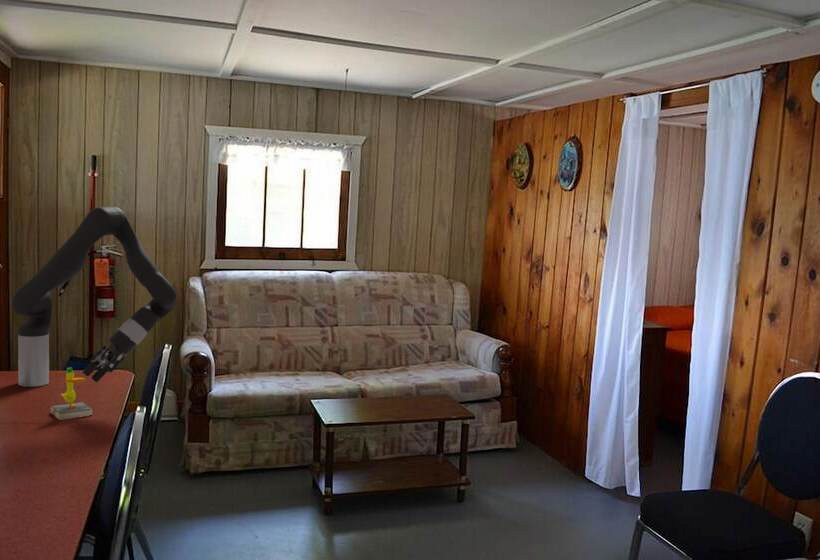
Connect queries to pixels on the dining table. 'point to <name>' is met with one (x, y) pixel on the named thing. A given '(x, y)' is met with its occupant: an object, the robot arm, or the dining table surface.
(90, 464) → the dining table surface
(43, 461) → the dining table surface
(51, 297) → the robot arm
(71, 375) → the toy figure
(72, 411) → the stand
